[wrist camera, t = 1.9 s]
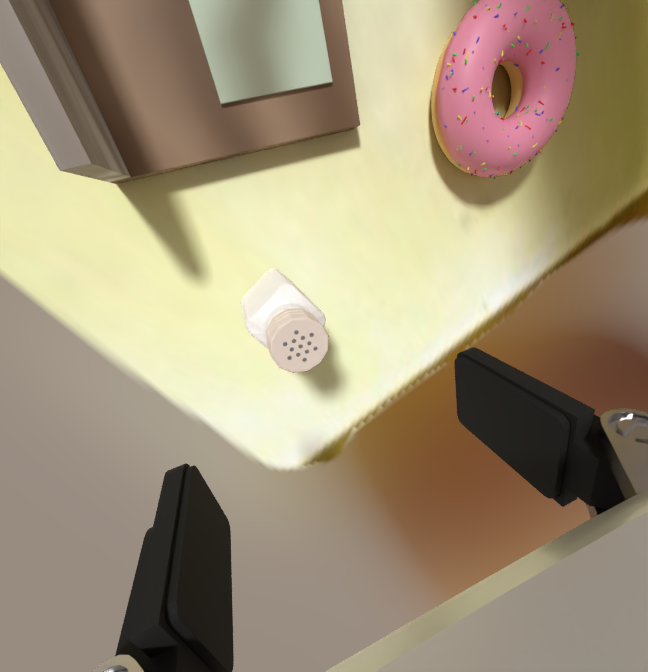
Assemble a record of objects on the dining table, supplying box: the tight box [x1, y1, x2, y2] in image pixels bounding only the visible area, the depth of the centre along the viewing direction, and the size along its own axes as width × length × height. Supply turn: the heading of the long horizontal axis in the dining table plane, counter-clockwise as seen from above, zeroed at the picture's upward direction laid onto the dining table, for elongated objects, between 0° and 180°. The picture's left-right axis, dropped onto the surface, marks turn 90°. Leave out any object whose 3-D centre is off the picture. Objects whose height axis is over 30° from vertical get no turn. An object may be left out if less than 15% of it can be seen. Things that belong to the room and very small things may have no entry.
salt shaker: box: [241, 268, 329, 373], centre depth 20 cm, size 4×4×10 cm
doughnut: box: [431, 0, 579, 179], centre depth 22 cm, size 11×11×4 cm
